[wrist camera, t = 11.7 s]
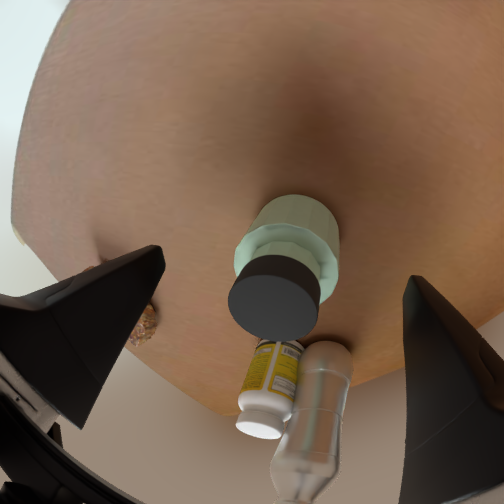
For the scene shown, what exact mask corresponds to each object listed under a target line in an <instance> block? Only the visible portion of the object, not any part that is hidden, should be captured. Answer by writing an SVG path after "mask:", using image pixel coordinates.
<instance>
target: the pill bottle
mask: <svg viewBox="0 0 504 504" xmlns="http://www.w3.org/2000/svg"><path fill="white" fill-rule="evenodd" d="M303 350H304V348H303V346H302V345H301V344H299V343H298V342H296V341H294V340H293V341H287V342H275V341H269V340H265V339H263V340H262V341H260V342H259V344H258V345H257V348H256V350H255V353H254V356H253V359H252V361H251V364H250V367H249V370H248V372H247V375H246V378H245V381H244V383H243V386H242V389H241V392H240V394H239V398H238V404H239V407H240V409H241V410H242V411H243V412H241V413H240V415H239V417H238V420H237V423H236V426H237V428H238V429H239V430H240V431H242V432H244V433H246V434H248V435H251V436H255V437H258V438H265V439H277V438H279V437H281V435H282V433H283V429H284V421H286V420H288V419H290V414H291V411H292V408H293V402H294V396H295V390H296V383H297V367H298V360H299V358H300V355H301V353H302V352H303Z"/></svg>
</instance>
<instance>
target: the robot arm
mask: <svg viewBox="0 0 504 504" xmlns="http://www.w3.org/2000/svg"><path fill="white" fill-rule="evenodd" d="M165 267H166V263H165V259H164V255H163V251H162V248H161V247H160V246H158V245H149V246H146V247H144V248H141V249H138V250H136V251H133V252H131V253H128V254H126V255H123V256H121V257H118V258H116V259H113V260H111V261H108V262H106V263H103V264H101V265H98V266H96V267H94V268H91V269H89V270H86V271H84V272H82V273H79V274H77V275H76V276H72V277H70V278H68V279H65V280H63V281H60V282H58V283H56V284H53V285H51V286H48V287H45V288H43V289H40V290H38V291H35V292H33V293H30V294H27V295H25V296H21V297H11V296H7V295H3V294H0V466H1V468H2V469H3V470H4V472H5V473H6V474H7V475H8V477H9V478H10V479H11V481H12V482H4V484H3V486H2V488H1V490H0V504H83V503H85V504H145V503H143V502H141V501H139V500H137V499H136V498H134V497H132V496H130V495H129V494H127V493H125V492H123V491H122V490H120V489H118V488H117V487H115V486H113V485H112V484H110V483H109V482H107V481H106V480H104V479H103V478H101V477H100V476H98V475H96V474H95V473H94V472H92V471H91V470H90V469H88V468H87V467H85V466H84V465H83V464H81V463H80V462H79V461H78V460H76V459H75V458H74V457H72V456H71V455H70V454H69V453H67V452H66V451H65V450H64V449H63V445H62V438H61V432H60V431H61V430H60V425H59V424H58V423H56V422H55V420H56V419H57V417H58V416H59V415H61V416H63V417H64V418H65V419H66V420H68V421H69V422H70V423H72V424H73V425H74V426H76V427H77V428H78V429H80V430H82V428H83V427H84V425H85V423H86V420H87V418H88V416H89V414H90V412H91V409H92V408H93V406H94V403H95V401H96V399H97V397H98V395H99V393H100V391H101V389H102V386H103V385H104V383H105V381H106V379H107V377H108V375H109V373H110V371H111V369H112V368H113V365H114V364H115V362H116V360H117V358H118V356H119V355H120V353H121V351H122V349H123V347H124V345H125V344H126V342H127V340H128V338H129V336H130V335H131V333H132V331H133V329H134V328H135V326H136V324H137V322H138V321H139V319H140V317H141V315H142V314H143V312H144V310H145V309H146V307H147V305H148V303H149V302H150V300H151V298H152V296H153V294H154V292H155V289H156V287H157V285H158V283H159V281H160V279H161V277H162V275H163V273H164V271H165ZM403 344H404V355H405V370H406V393H407V422H406V439H405V444H406V445H405V458H404V468H403V476H402V484H401V492H400V497H399V503H398V504H504V361H503V359H502V358H501V357H500V356H499V355H498V354H497V353H496V352H495V350H494V349H493V348H492V347H491V346H490V345H489V344H488V343H487V341H486V340H485V339H484V338H482V336H481V335H480V334H479V333H478V331H477V330H476V329H475V328H474V327H473V326H472V325H471V324H470V323H469V322H468V321H467V320H466V319H465V318H464V317H463V316H462V314H461V313H460V312H459V311H458V310H457V309H456V308H455V307H454V306H453V305H452V304H451V303H450V302H449V301H448V300H447V299H446V298H445V297H444V296H442V295H441V294H440V293H439V292H438V291H437V290H436V289H435V288H434V287H433V286H432V285H431V284H430V283H429V282H428V281H427V280H426V279H424V278H423V277H422V276H417V275H411V276H410V278H409V280H408V283H407V286H406V289H405V292H404V295H403Z"/></svg>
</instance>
